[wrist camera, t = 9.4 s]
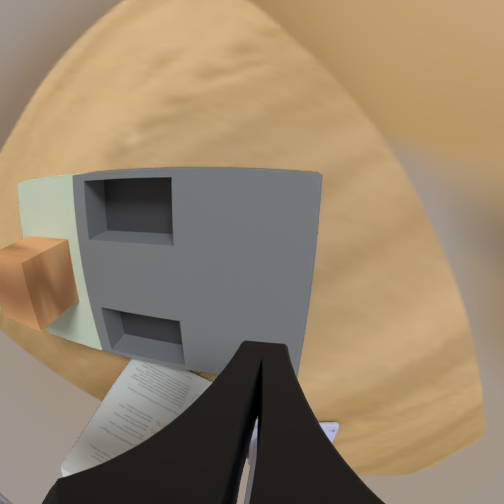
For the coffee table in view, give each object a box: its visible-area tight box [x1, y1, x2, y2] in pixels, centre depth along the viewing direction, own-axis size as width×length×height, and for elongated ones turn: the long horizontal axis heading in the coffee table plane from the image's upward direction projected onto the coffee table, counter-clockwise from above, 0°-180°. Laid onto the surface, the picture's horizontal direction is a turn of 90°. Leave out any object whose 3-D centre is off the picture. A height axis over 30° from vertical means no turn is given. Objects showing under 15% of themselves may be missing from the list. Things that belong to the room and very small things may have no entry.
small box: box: [61, 358, 213, 477], centre depth 16 cm, size 8×6×13 cm
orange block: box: [0, 236, 79, 332], centre depth 15 cm, size 4×4×4 cm
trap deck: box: [17, 167, 322, 377], centre depth 17 cm, size 13×21×2 cm, turn 88°
